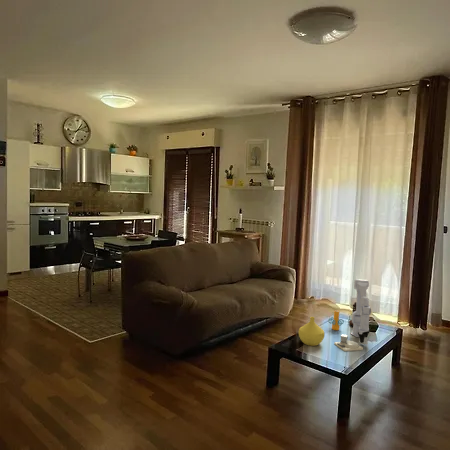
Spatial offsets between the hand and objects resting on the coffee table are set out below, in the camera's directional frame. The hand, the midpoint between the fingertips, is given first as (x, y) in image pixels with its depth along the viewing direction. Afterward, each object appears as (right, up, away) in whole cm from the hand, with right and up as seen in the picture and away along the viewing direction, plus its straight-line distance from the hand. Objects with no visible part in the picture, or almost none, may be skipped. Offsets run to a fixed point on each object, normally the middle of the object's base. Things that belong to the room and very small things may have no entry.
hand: (363, 341), depth 279 cm
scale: (-11, -3, -3) cm, 11 cm away
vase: (-38, -2, 0) cm, 38 cm away
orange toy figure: (-11, 0, +32) cm, 34 cm away
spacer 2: (0, -1, 0) cm, 1 cm away
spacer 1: (-14, 0, -1) cm, 14 cm away
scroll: (+11, 0, +43) cm, 44 cm away
